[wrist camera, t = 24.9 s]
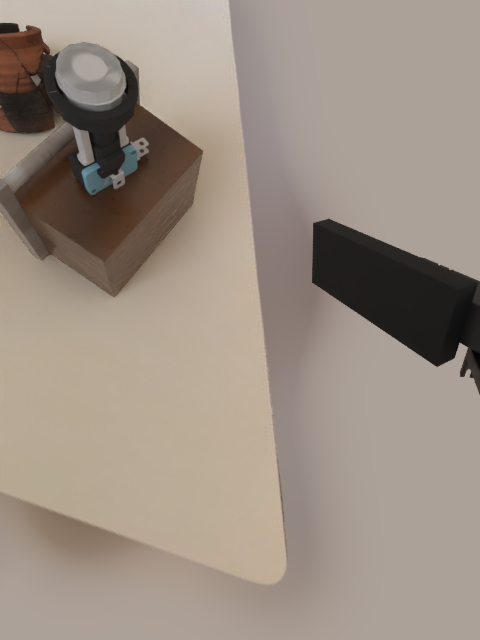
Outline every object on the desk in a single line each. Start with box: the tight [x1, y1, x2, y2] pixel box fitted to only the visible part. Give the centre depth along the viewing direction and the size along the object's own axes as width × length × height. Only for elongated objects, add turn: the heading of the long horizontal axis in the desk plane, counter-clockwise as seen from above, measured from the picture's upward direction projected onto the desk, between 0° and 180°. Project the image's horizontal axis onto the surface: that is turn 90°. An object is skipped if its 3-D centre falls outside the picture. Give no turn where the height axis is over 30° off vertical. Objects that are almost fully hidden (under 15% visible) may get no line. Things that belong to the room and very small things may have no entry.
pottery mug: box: [0, 23, 65, 133], centre depth 38 cm, size 12×10×8 cm
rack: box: [0, 60, 203, 297], centre depth 34 cm, size 9×16×12 cm, turn 149°
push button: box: [44, 42, 149, 195], centre depth 26 cm, size 7×5×10 cm
